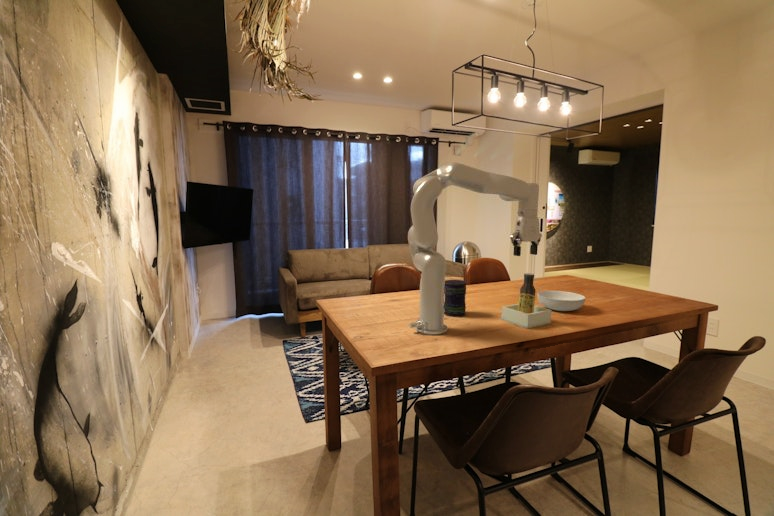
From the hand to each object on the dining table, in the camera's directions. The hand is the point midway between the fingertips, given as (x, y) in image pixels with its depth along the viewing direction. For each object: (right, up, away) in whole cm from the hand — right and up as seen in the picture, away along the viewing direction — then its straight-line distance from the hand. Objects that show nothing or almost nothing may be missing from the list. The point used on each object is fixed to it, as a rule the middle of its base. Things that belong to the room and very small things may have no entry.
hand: (525, 255), depth 155 cm
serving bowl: (+25, -26, +23) cm, 43 cm away
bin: (+1, -28, +3) cm, 29 cm away
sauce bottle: (+1, -28, +3) cm, 28 cm away
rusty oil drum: (-27, -27, +15) cm, 41 cm away
